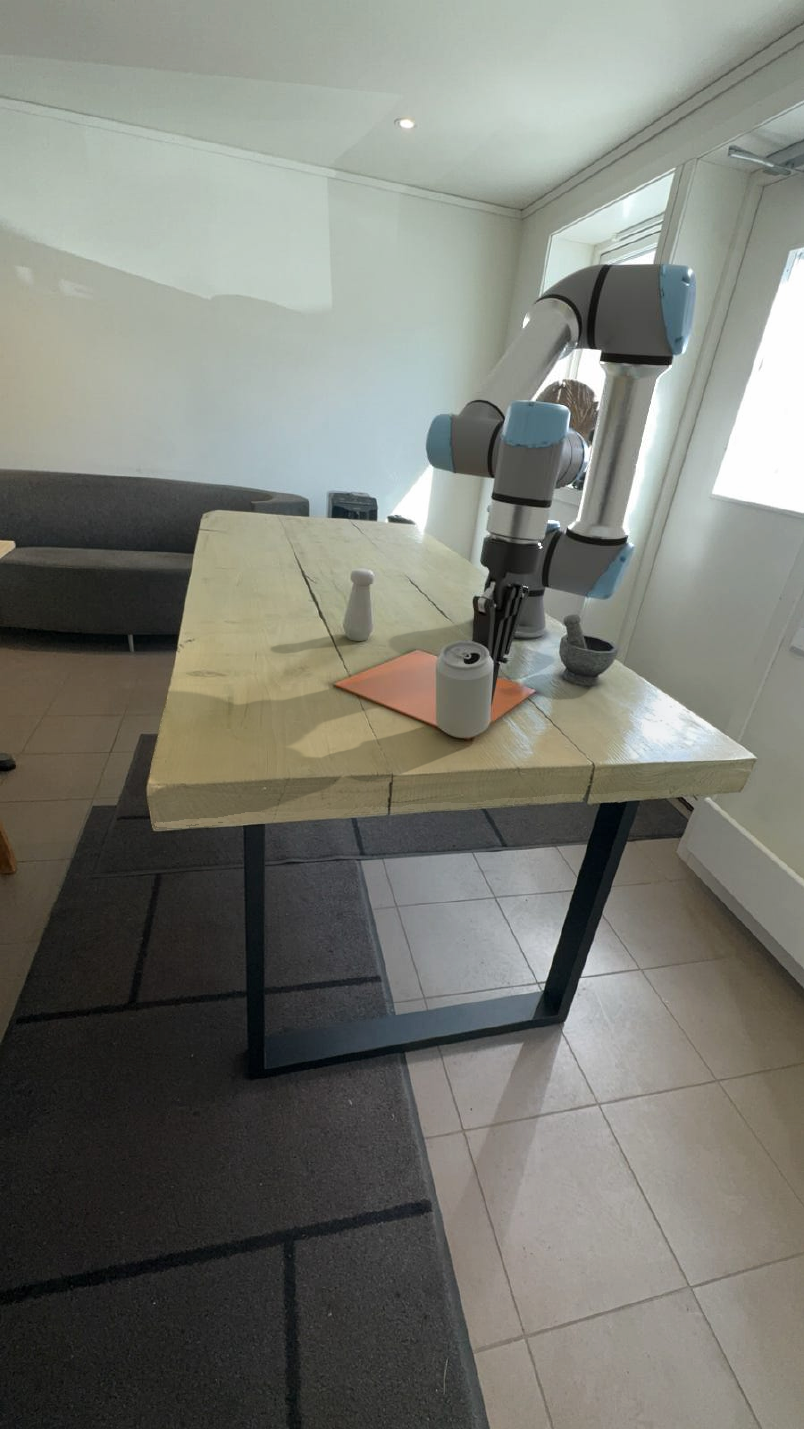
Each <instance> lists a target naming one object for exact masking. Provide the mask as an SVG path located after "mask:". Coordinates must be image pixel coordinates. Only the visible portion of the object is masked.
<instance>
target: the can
mask: <svg viewBox="0 0 804 1429" xmlns="http://www.w3.org/2000/svg"><path fill="white" fill-rule="evenodd" d="M437 657H438V658H437V660H436V722H437V725H438V727H439V728H440V730H441V731H442V732H444V733H446V734H447V735H449V736H451V737H454V738H458V739H464V738H469V737H471V738H473V737H475V736H477V735H479V734H482V733H483V732H484V731H486V730H487V729H488V728H489V726H490V725H491V724H490V713H491V698H492V683H493V668H494V664H493V660H492V658H491V657H490V656H489V651H488V650H487V648H486V647H484V646H483V645H481V644H479V643H476V642H472V640H457V641H453V642H451V643H448V644H446V645H445V646H443V648H442V649H441V650H440V654H439V655H438V656H437ZM489 724H490V725H489ZM439 728H438V729H439Z"/></svg>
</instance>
